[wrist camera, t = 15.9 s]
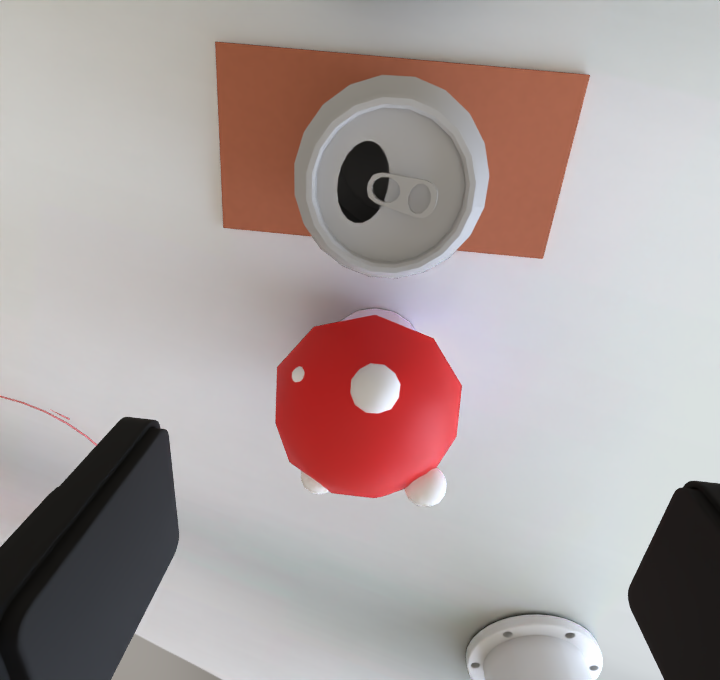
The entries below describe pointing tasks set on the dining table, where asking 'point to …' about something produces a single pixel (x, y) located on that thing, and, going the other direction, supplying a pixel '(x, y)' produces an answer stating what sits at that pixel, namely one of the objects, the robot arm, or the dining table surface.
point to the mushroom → (368, 408)
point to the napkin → (338, 70)
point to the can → (391, 176)
